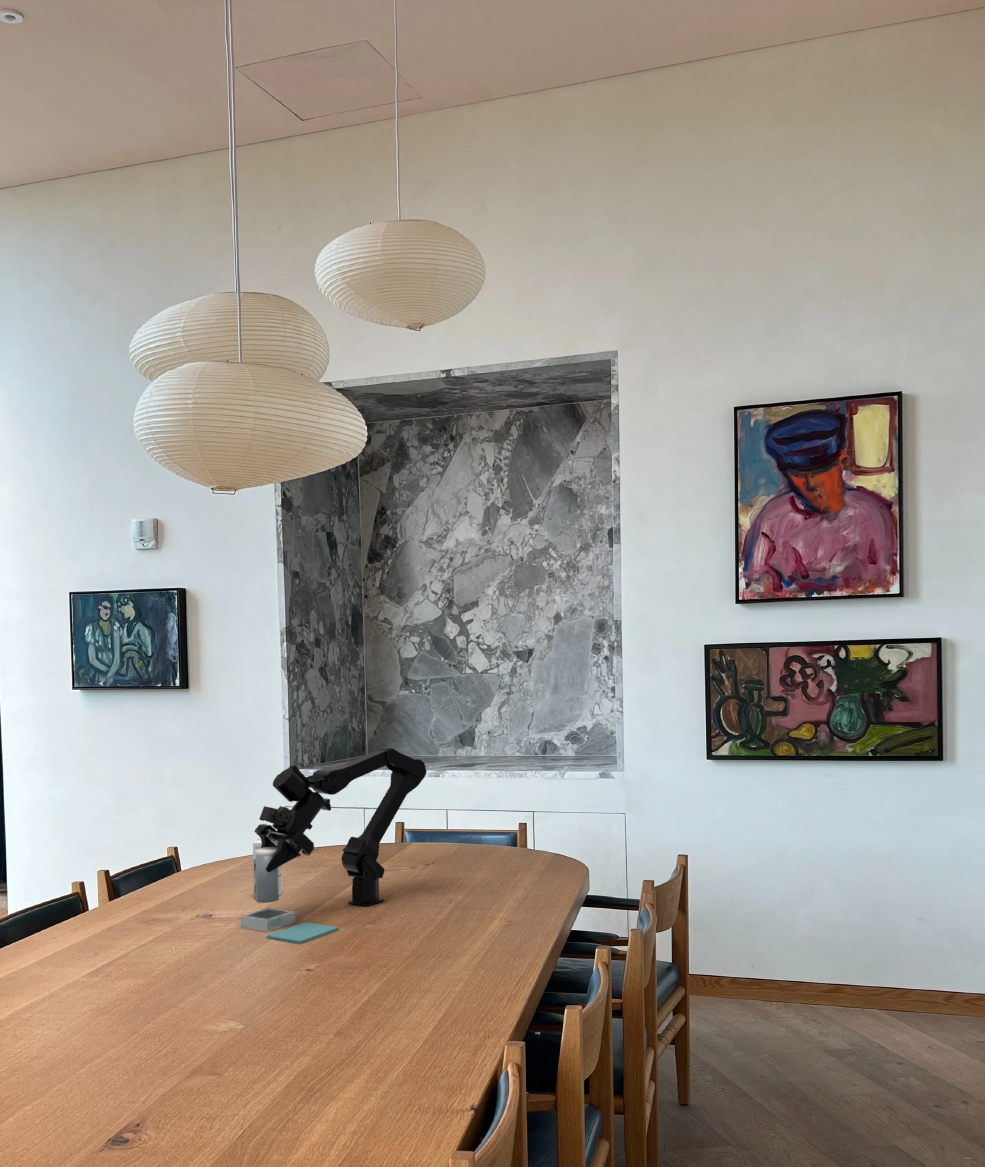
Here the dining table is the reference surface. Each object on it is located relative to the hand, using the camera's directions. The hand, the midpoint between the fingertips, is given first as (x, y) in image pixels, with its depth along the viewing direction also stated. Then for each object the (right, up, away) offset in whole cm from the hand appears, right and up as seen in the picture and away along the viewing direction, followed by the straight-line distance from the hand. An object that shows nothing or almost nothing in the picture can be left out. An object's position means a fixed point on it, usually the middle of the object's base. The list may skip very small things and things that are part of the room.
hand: (261, 869), depth 227 cm
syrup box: (-5, -15, +28) cm, 32 cm away
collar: (+2, -13, 0) cm, 13 cm away
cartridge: (+1, -7, 0) cm, 7 cm away
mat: (+11, -12, -9) cm, 18 cm away
